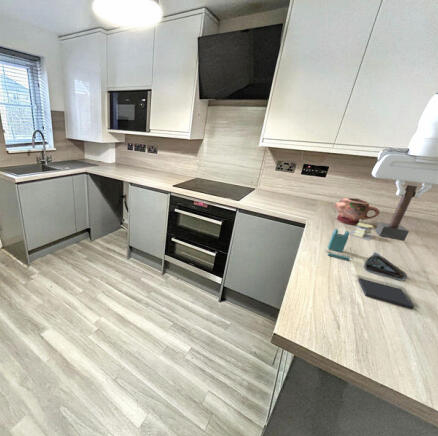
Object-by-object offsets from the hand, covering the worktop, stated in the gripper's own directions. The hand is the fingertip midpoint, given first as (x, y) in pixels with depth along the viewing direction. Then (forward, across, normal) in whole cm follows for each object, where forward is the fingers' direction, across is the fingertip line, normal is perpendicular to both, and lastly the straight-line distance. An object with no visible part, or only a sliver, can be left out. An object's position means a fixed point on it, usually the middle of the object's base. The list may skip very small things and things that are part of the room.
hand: (407, 196), depth 72 cm
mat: (+31, +2, -7) cm, 32 cm away
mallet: (+11, 0, +5) cm, 12 cm away
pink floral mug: (+31, +6, +72) cm, 78 cm away
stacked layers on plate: (+31, +8, +52) cm, 61 cm away
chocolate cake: (+31, +6, +11) cm, 33 cm away
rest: (+31, -7, +18) cm, 37 cm away
